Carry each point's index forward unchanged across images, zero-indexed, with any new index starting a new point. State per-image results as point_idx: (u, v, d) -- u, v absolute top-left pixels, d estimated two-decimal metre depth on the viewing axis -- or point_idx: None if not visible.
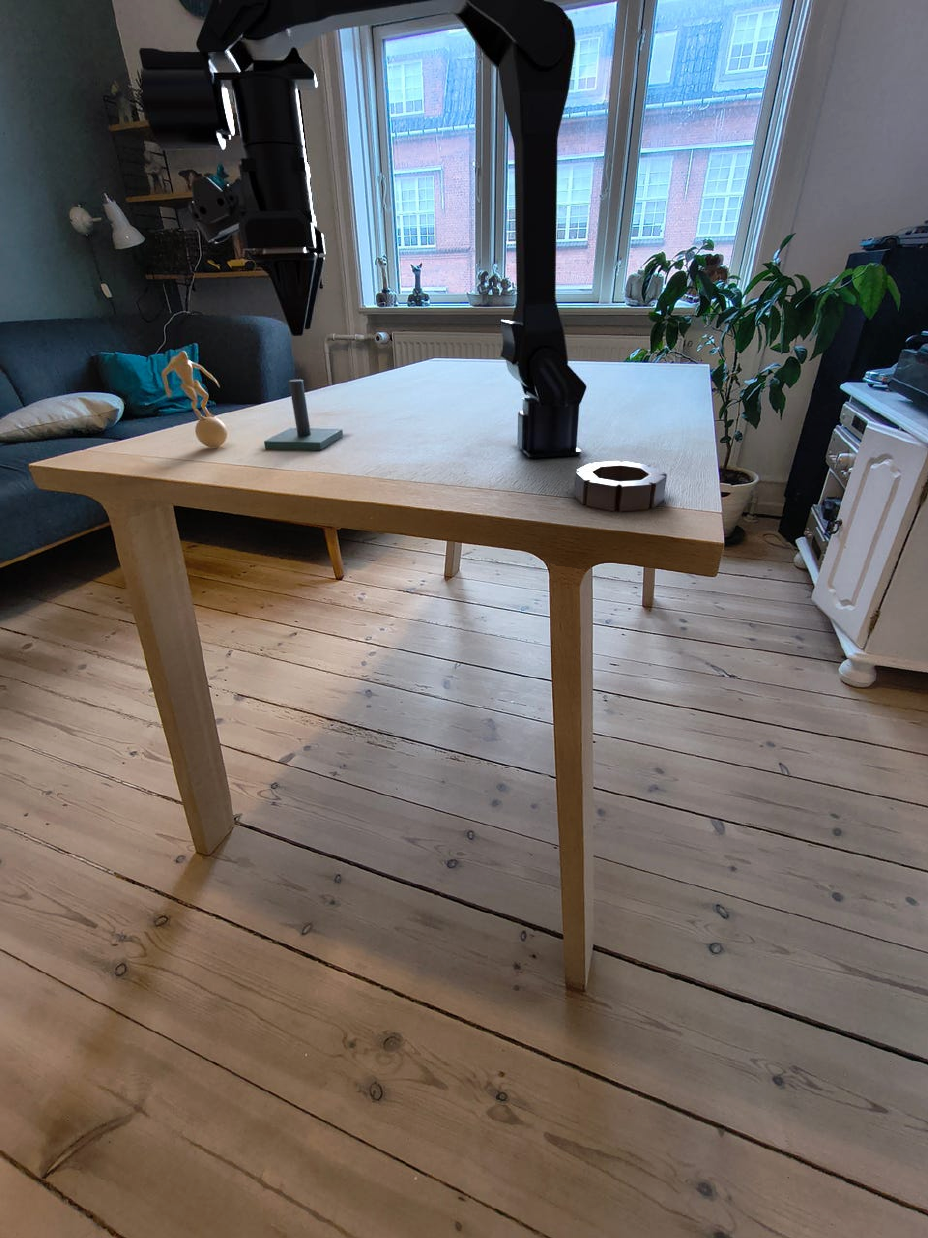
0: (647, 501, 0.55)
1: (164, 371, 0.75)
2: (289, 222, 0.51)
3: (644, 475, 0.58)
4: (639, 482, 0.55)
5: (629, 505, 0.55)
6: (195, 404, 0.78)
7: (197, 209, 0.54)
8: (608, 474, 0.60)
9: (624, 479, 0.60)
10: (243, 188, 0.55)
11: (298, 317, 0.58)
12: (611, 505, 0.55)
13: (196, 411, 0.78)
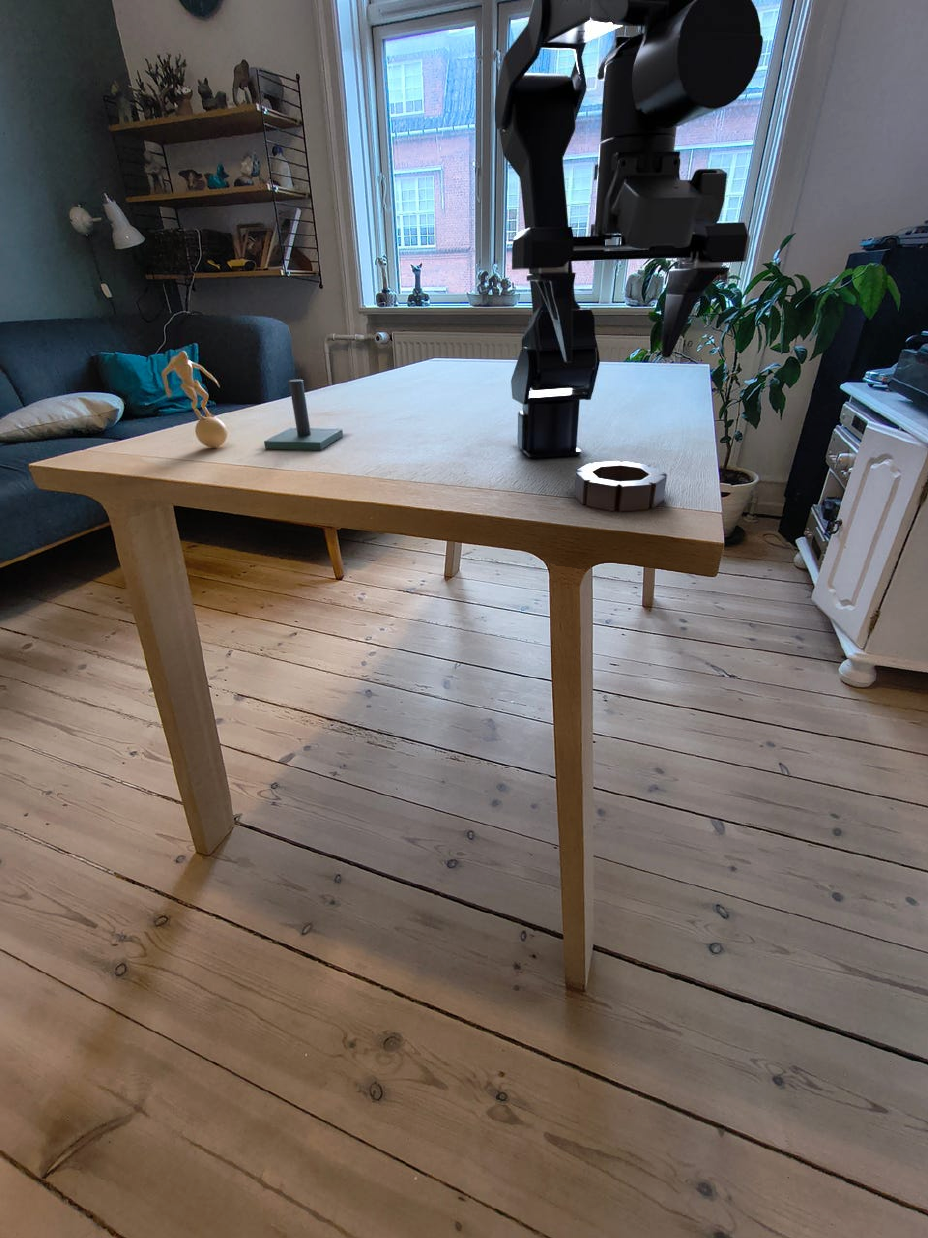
0: (647, 501, 0.55)
1: (164, 371, 0.75)
2: None
3: (644, 475, 0.58)
4: (639, 482, 0.55)
5: (629, 505, 0.55)
6: (195, 404, 0.78)
7: (722, 207, 0.43)
8: (608, 474, 0.60)
9: (624, 479, 0.60)
10: None
11: None
12: (611, 505, 0.55)
13: (196, 411, 0.78)
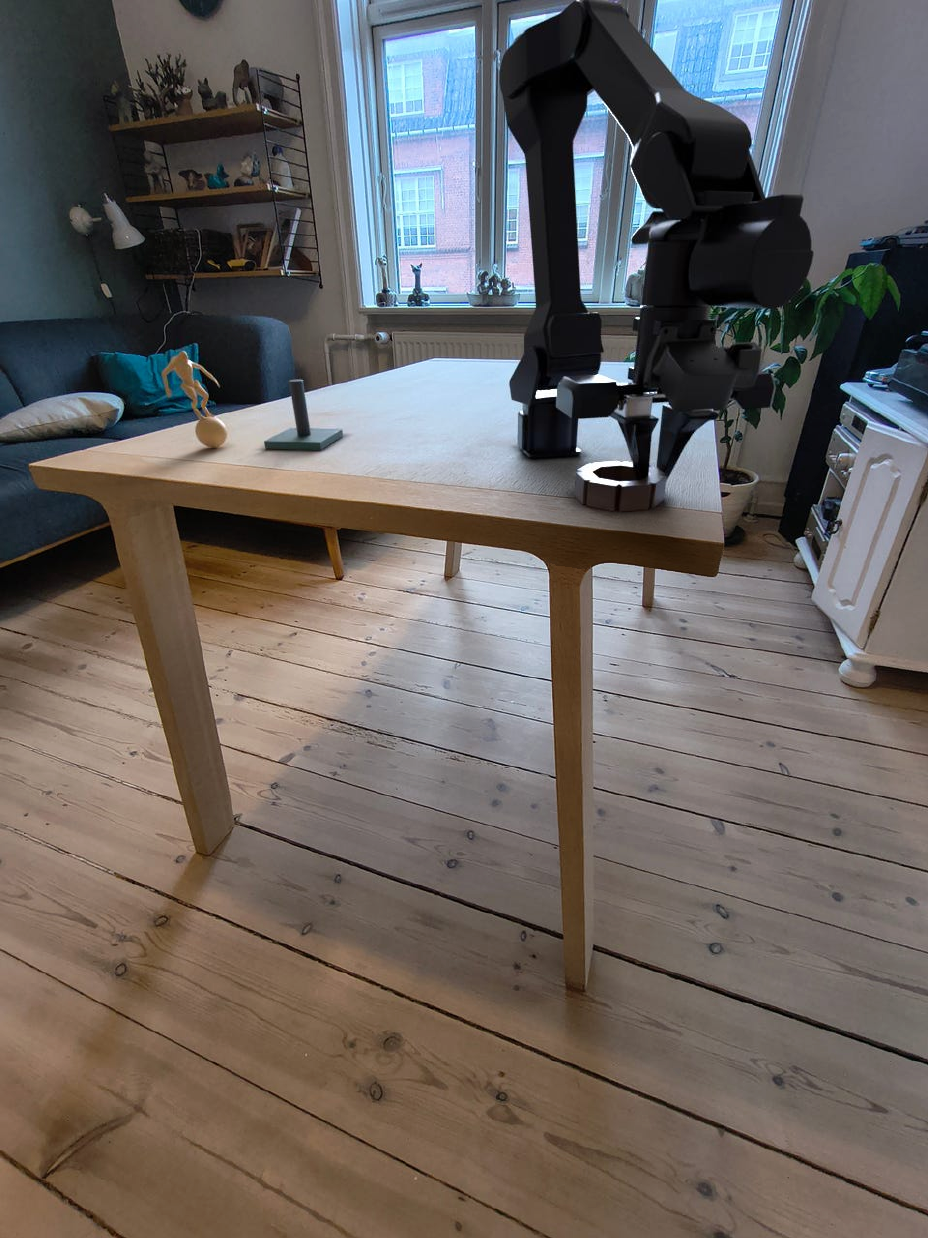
0: (647, 501, 0.55)
1: (164, 371, 0.75)
2: None
3: None
4: (639, 482, 0.55)
5: (629, 505, 0.55)
6: (195, 404, 0.78)
7: (756, 376, 0.47)
8: (608, 474, 0.60)
9: (624, 479, 0.60)
10: None
11: None
12: (611, 505, 0.55)
13: (196, 411, 0.78)
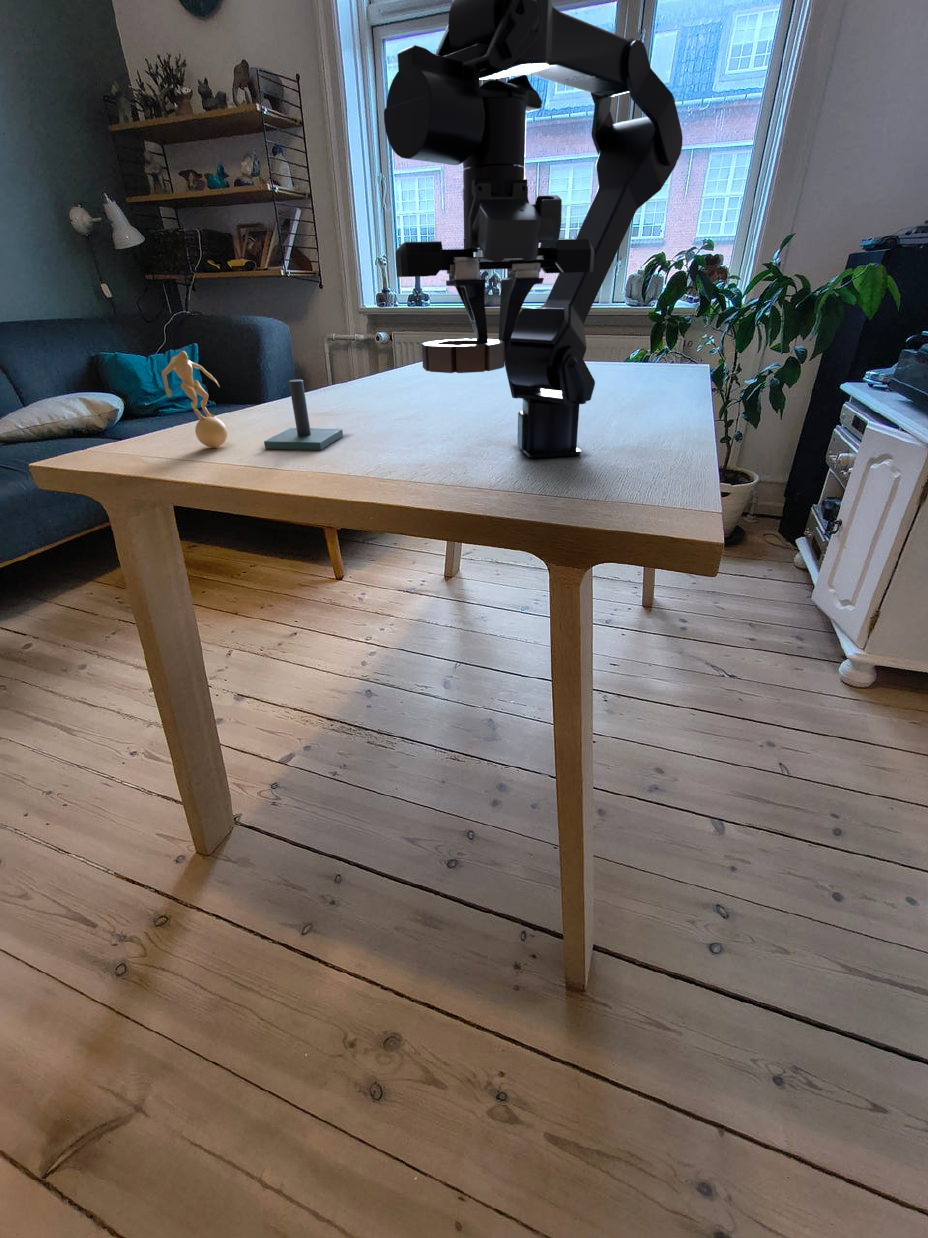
0: (482, 363, 0.58)
1: (164, 371, 0.75)
2: None
3: None
4: (474, 344, 0.58)
5: (465, 366, 0.58)
6: (195, 404, 0.78)
7: (560, 227, 0.51)
8: None
9: None
10: None
11: None
12: (449, 367, 0.58)
13: (196, 411, 0.78)
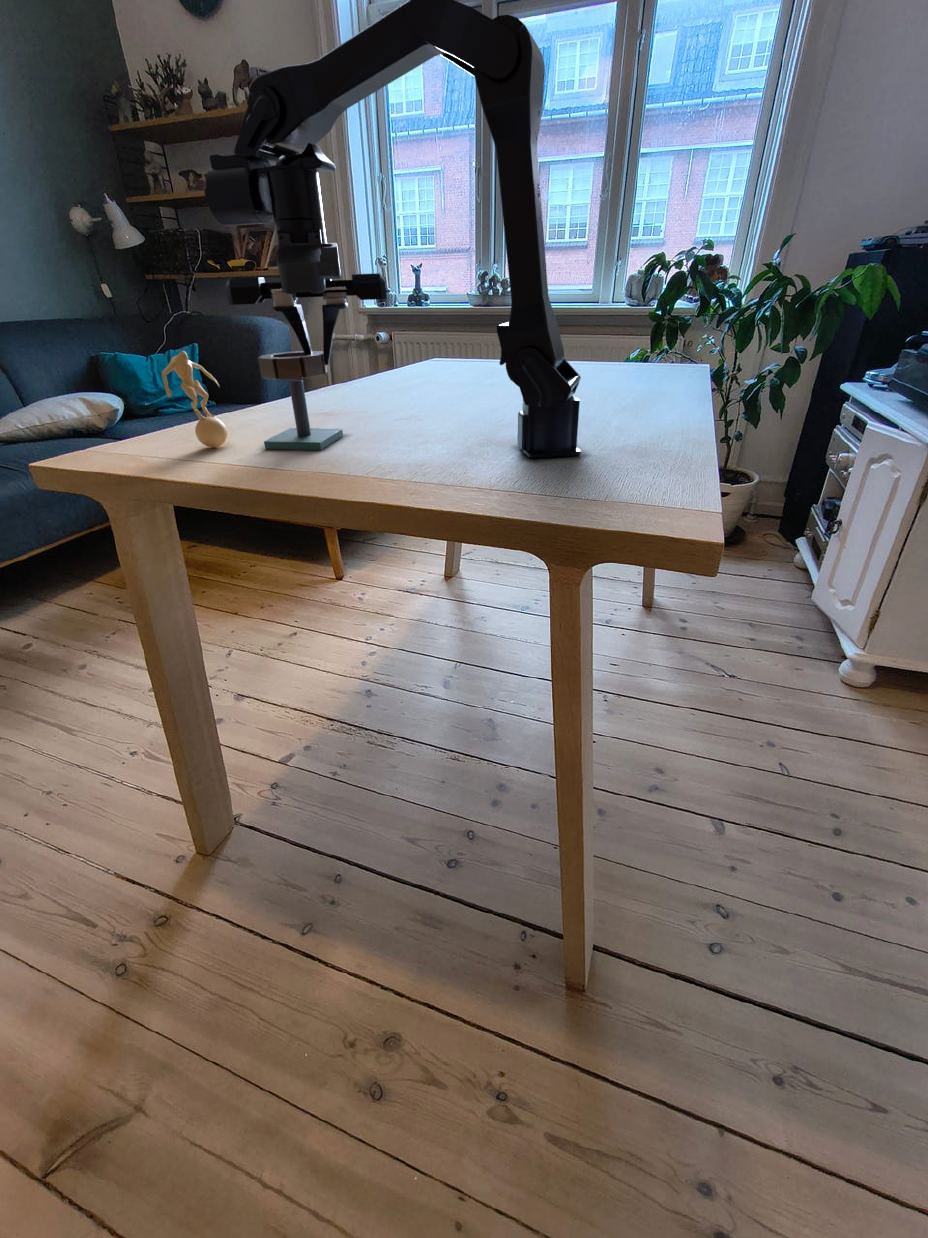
0: (299, 371, 0.74)
1: (164, 371, 0.75)
2: None
3: None
4: (292, 357, 0.74)
5: (285, 374, 0.74)
6: (195, 404, 0.78)
7: (339, 267, 0.66)
8: None
9: None
10: None
11: (330, 350, 0.77)
12: (273, 374, 0.74)
13: (196, 411, 0.78)
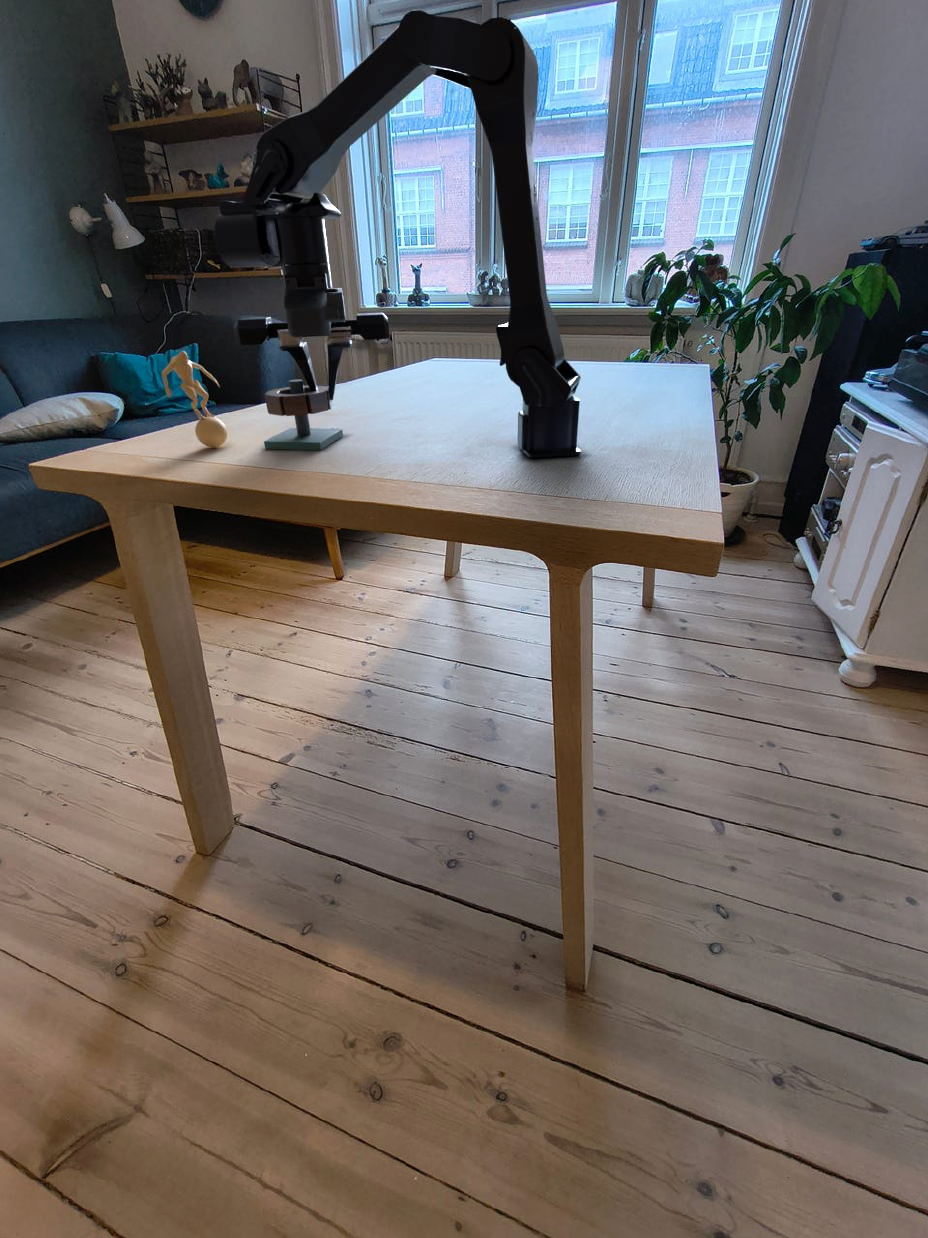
0: (305, 408, 0.76)
1: (164, 371, 0.75)
2: None
3: None
4: (298, 394, 0.76)
5: (291, 411, 0.76)
6: (195, 404, 0.78)
7: (344, 312, 0.69)
8: None
9: None
10: None
11: None
12: (279, 411, 0.76)
13: (196, 411, 0.78)
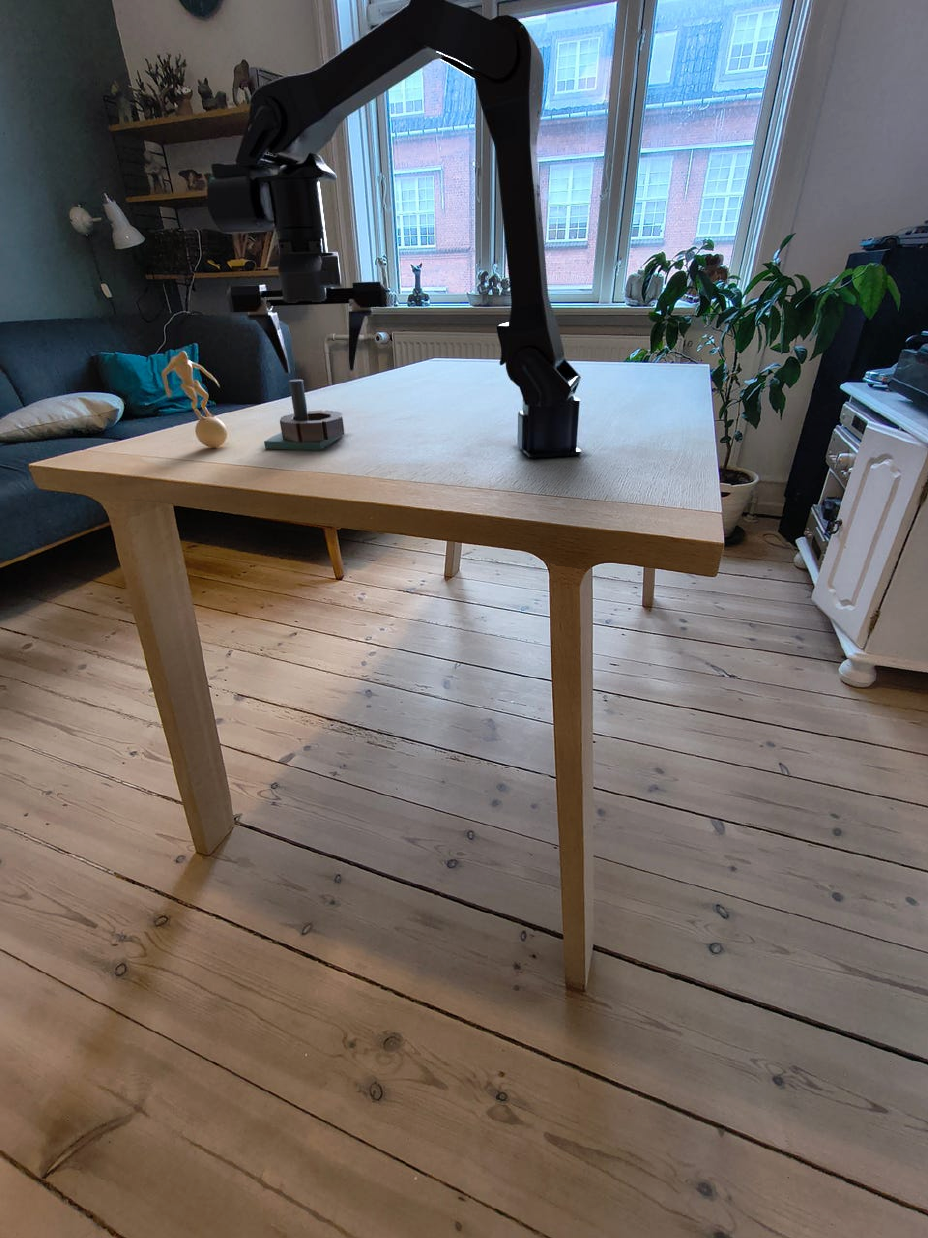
0: (321, 434, 0.78)
1: (164, 371, 0.75)
2: None
3: None
4: (315, 421, 0.77)
5: (308, 437, 0.77)
6: (195, 404, 0.78)
7: (339, 276, 0.67)
8: (311, 419, 0.83)
9: None
10: None
11: None
12: (296, 437, 0.77)
13: (196, 411, 0.78)
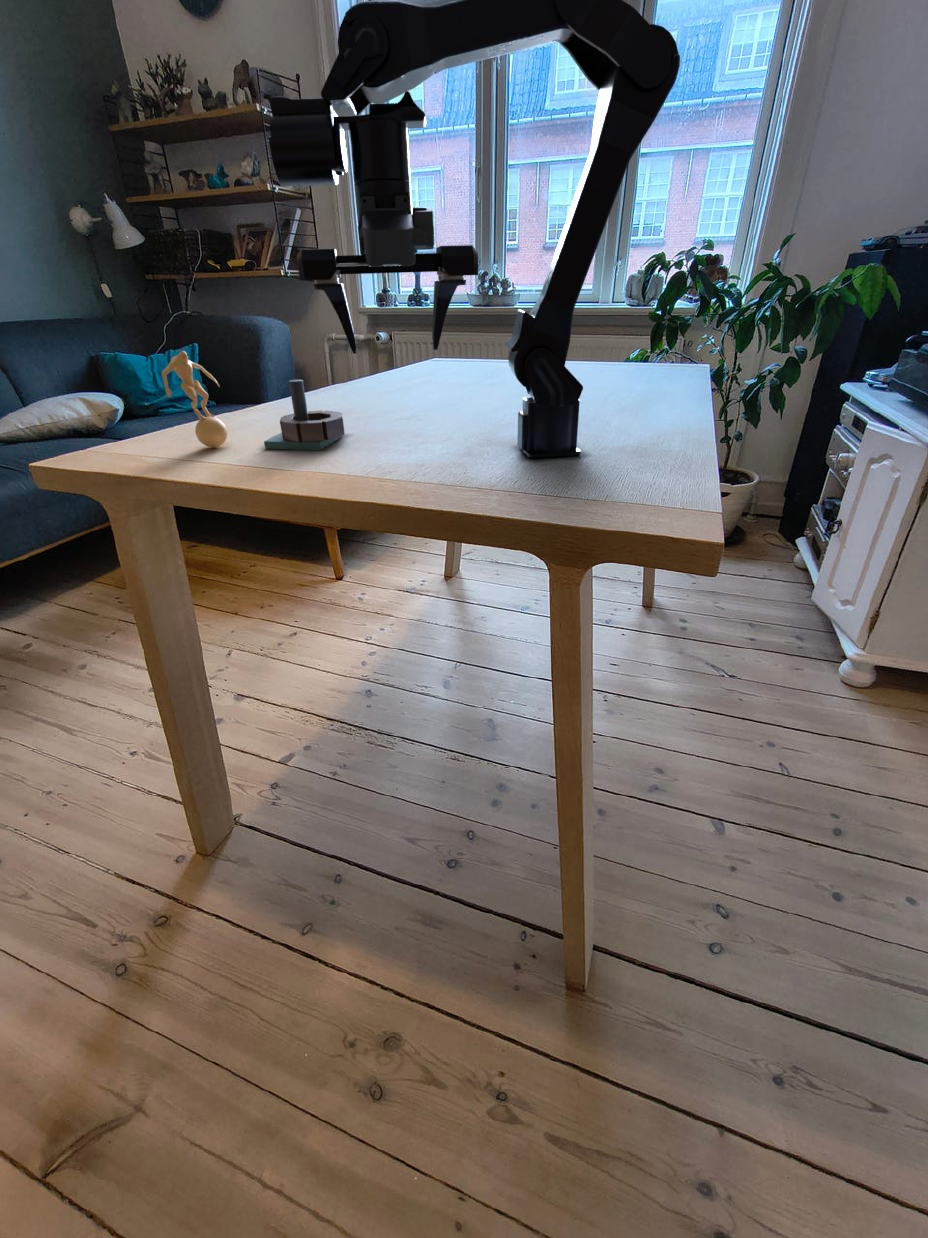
0: (321, 434, 0.78)
1: (164, 371, 0.75)
2: None
3: None
4: (315, 421, 0.77)
5: (308, 437, 0.77)
6: (195, 404, 0.78)
7: (433, 236, 0.57)
8: (311, 419, 0.83)
9: None
10: None
11: None
12: (296, 437, 0.77)
13: (196, 411, 0.78)
